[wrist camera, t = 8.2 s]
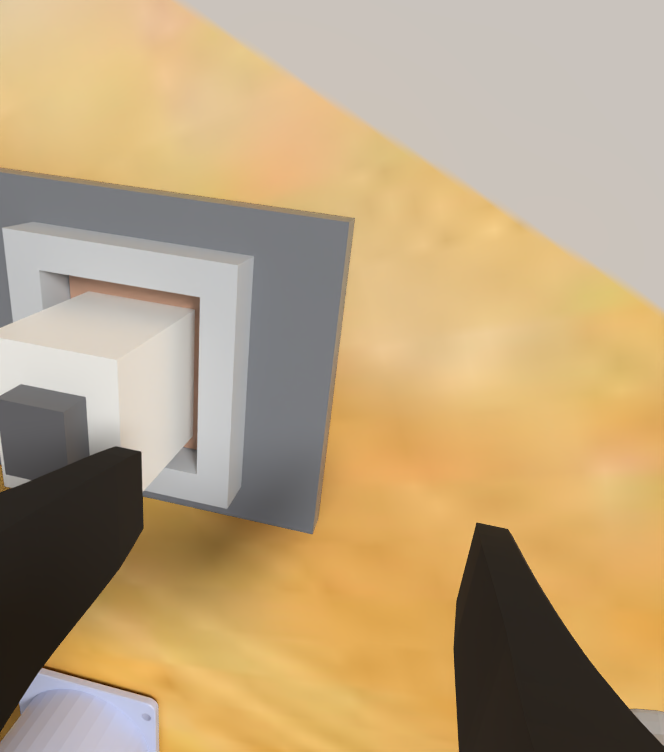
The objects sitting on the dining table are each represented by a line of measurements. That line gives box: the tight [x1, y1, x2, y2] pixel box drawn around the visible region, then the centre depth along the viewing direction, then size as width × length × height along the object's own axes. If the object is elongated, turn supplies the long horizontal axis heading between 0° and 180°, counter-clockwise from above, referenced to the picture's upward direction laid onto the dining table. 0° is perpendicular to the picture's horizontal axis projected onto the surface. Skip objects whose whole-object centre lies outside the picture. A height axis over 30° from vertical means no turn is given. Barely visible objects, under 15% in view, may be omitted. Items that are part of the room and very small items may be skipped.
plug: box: [0, 291, 195, 491], centre depth 19 cm, size 5×4×6 cm
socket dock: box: [0, 168, 355, 534], centre depth 21 cm, size 12×14×2 cm
